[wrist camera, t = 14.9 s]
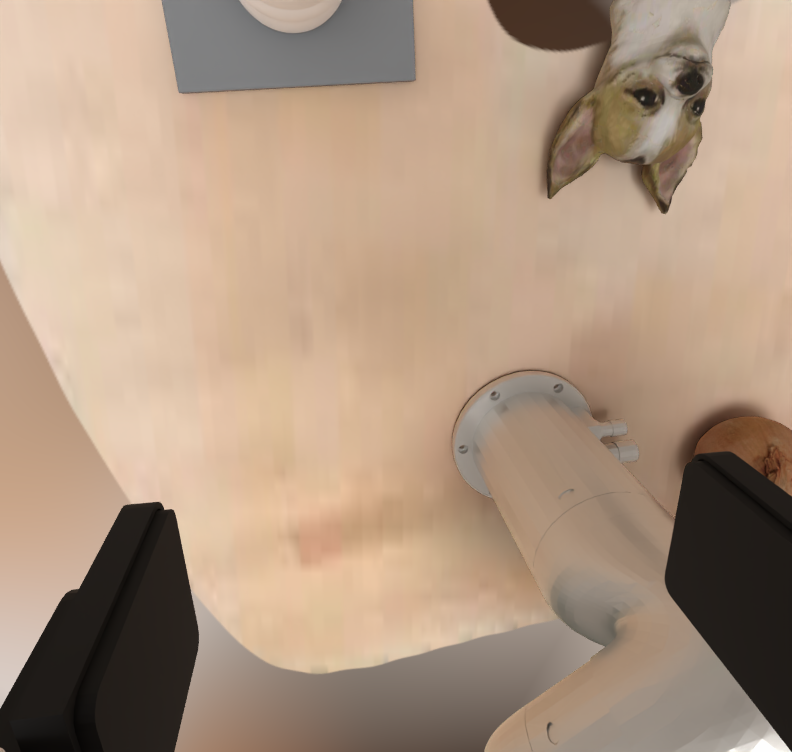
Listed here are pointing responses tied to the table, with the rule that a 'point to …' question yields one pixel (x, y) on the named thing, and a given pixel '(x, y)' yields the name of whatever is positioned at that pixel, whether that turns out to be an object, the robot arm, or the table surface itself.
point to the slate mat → (288, 47)
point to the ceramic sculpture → (645, 95)
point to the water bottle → (291, 13)
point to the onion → (754, 446)
